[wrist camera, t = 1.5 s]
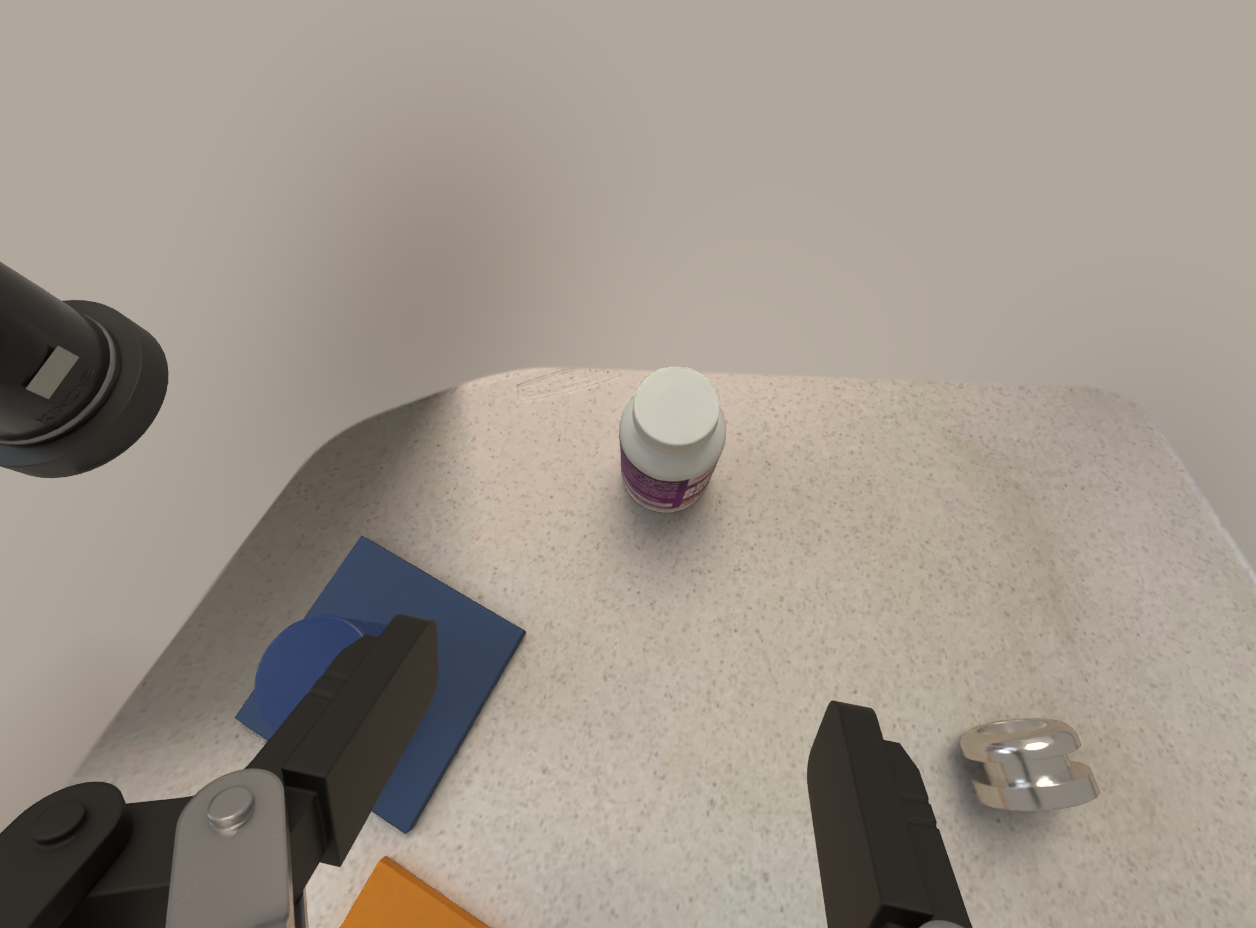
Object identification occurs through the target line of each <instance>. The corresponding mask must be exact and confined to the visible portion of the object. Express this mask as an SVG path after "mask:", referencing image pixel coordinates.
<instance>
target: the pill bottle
mask: <svg viewBox="0 0 1256 928" xmlns="http://www.w3.org/2000/svg"><path fill="white" fill-rule="evenodd" d="M619 438H620V451H621V471H622V478H623V482H624V485H625V487H626V489H627V491H628V492H629V494H630V495H631V496H632V498H633V499H634V500H635V501H636V502H638V503H639V504H640V505H642V506H644V507H646V508H648V509H650V510H653V511H657V512H664V513H667V512H675V511H679V510H682V509H684V508H687V507H688V506H690V505H691V504H693V503H694V502H695V501H697V500H698V498H699V497H700V496H701V495H702V494H703V492H704V491H705V489H706V487H707V485H708V483H709V481H710V478H711V476H712V474H713V472H714V469H715V467H716V464H717V462H718V460H719V457H720V455H721V453H722V450H723V448H724V445H725V439H726V423H725V419H724V415H723V412H722V410H721V408H720V399H719V396H718V393H717V391H716V389H715V387H714V386H713V384H712V383H711V382H710V381H709V380H708V379H707V378H706V377H705V376H704V375H702V374H701V373H699V372H697V371H695V370H693V369H690V368H686V367H679V366H673V367H666V368H662V369H659V370H657V371H655V372H653V373H651V374H650V375H648V376H647V377H646V378H645V379H644V380H643V381H642V382H641V384H640V385H639V387H638V388H637V390H636V393H635V395H634V396H633V397H632V398H631V399H630V401H629V402H628V404H627V405H626V407H625V409H624V411H623V414H622V417H621V421H620V428H619Z"/></svg>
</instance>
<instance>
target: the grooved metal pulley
mask: <svg viewBox="0 0 1256 928" xmlns="http://www.w3.org/2000/svg"><path fill="white" fill-rule="evenodd" d="M960 747H961V750H962V753H963V756H964V757H965V758H967V759H970V760H974V761H980V762H982V764H983V767H984V768H982V769H980V770H977V771H976V772H974V773H973V774H972V775H971V780H972V783H973V786H974V789H975V792H976V795H977V798H978V800H979V801H980V802H981V803H983V804H985V805H987V806H990V807H994V808H999V809H1005V810H1016V811H1042V810H1055V809H1062V808H1068V807H1073V806H1078V805H1081V804H1085V803H1087V802H1090V801H1092V800H1094V799H1096V798H1097V797H1098V796H1099V794H1100V790H1099V787H1098V785H1097V782H1096V780H1095V777H1094V775H1093V772H1092V770H1091V768H1090V767H1089V766H1088V765H1086V764H1083V763H1080V762H1075V761H1069V758H1068V756H1067V754H1068V753H1071V752H1074V751H1076V750H1078V749H1079V748H1080V747H1081V742H1080V739H1079V737H1078V735H1077V733H1076V732H1075V730H1074V729H1073V728H1072V727H1070V726H1069V725H1068V724H1066V723H1064V722H1061V721H1058V720H1053V719H1043V718H1027V719H1013V720H1005V721H998V722H992V723H987V724H983V725H979V726H976V727H973V728H971V729H969V730H967V731H966V732H965V733H964V734H963V735H962V737H961V740H960Z"/></svg>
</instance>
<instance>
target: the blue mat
mask: <svg viewBox="0 0 1256 928" xmlns="http://www.w3.org/2000/svg"><path fill="white" fill-rule="evenodd" d="M397 614H404V615H409V616H414V617H419V618H425V619H430V620H434V621H435V622H436V624H437V636H438V667H439V676H438V683H437V688H436V691H435V694H434V697H433V700H432V702H431V704H430V706H429V708H428V710H427V712H426V714H425V715H424V717H423V719H422V721H421V723H420V724H419V726H418V728H417V730H416V732H415V733H414V735H413V737H412V739H411V741H410V742H409V744H408V746H407V748H406V750H405V751H404V753H403V755H402V757H401V759H400V760H399V762H398V764H397V766H396V768H395V769H394V771H393V773H392V775H391V777H390V778H389V780H388V782H387V784H386V786H385V787H384V789H383V791H382V793H381V795H380V796H379V798H378V800H377V802H376V804H375V805H374V807H373V809H372V811H373V812H374V813H375V814H377V815H378V816H380V817H381V818H383V819H384V820H386V821H387V822H389V823H390V824H392V825H393V826H395V827H396V828H398V829H399V830H401V831H402V832H403V833H405V834H406V833H408V832H409V831H410V830H412V828H413V826H414V825H415V823H416V821H417V819H418V818H419V816H420V814H421V813H422V811H423V809H424V807H425V806H426V804H427V802H428V800H429V799H430V797H431V795H432V794H433V792H434V790H435V788H436V787H437V785H438V783H439V781H440V780H441V778H442V776H443V774H444V773H445V771H446V769H447V768H448V766H449V764H450V762H451V761H452V759H453V757H454V755H455V754H456V752H457V750H458V749H459V747H460V745H461V743H462V742H463V740H464V738H465V736H466V735H467V733H468V731H469V730H470V728H471V726H472V724H473V723H474V721H475V719H476V717H477V716H478V714H479V712H480V711H481V709H482V707H483V705H484V704H485V702H486V700H487V698H488V697H489V695H490V693H491V692H492V690H493V688H494V686H495V685H496V683H497V681H498V679H499V678H500V676H501V674H502V673H503V671H504V669H505V667H506V666H507V664H508V662H509V660H510V659H511V657H512V655H513V653H514V652H515V650H516V648H517V647H518V645H519V643H520V641H521V640H522V638H523V636H524V634H525V633H526V631H525V630H523V629H521V628H519V627H518V626H516V625H514V624H513V623H511V622H509V621H507V620H506V619H504V618H502V617H501V616H499V615H497V614H496V613H494V612H492V611H490V610H489V609H487V608H485V607H484V606H482V605H480V604H478V603H477V602H475V601H473V600H472V599H470V598H468V597H466V596H465V595H463V594H461V593H460V592H458V591H456V590H455V589H453V588H451V587H449V586H448V585H446V584H444V583H443V582H441V581H439V580H437V579H436V578H434V577H432V576H431V575H429V574H427V573H426V572H424V571H422V570H420V569H419V568H417V567H415V566H414V565H412V564H410V563H408V562H407V561H405V560H403V559H402V558H400V557H398V556H397V555H395V554H393V553H391V552H390V551H388V550H386V549H385V548H383V547H381V546H379V545H378V544H376V543H374V542H373V541H371V540H369V539H367V538H365V537H363V536H361V537H360V539H359V540H358V541H357V543H356V544H355V546H354V547H353V549H352V550H351V551H350V553H349V554H348V556H347V557H346V559H345V560H344V562H343V563H342V564H341V566H340V567H339V569H338V570H337V572H336V573H335V574H334V576H333V577H332V579H331V580H330V582H329V583H328V584H327V586H326V587H325V589H324V590H323V592H322V593H321V594H320V596H319V597H318V599H317V600H316V602H315V603H314V605H313V606H312V607H311V609H310V610H309V612H308V613H307V615H306V616H305V617H304V619H306V618H309V617H313V616H320V615H330V616H337V617H343V618H350V619H356V620H363V621H369V622H375V623H382V624H389V623H390V621H391V620H392V619H393V618H394V617H395V616H396V615H397ZM235 719H237V720H238V721H240V722H241V723H243V724H244V725H246V726H247V727H249V728H250V729H252V730H253V731H255V732H256V733H258V734H259V735H261V736H262V737H263V738H265V739H266V740H268V741H269V739H270V738H271V737H272V736H273V734H274V733H275V731H274V730H272V729H271V728H270V727H269V726H268V725H267V724H266V723H265V721H264V719H263V718H262V716H261V714H260V712H259V710H258V707H257V704H256V699H255V689H254V691H253V692H252V693H251V695H250V696H249V698H248V699H247V701H246V702H245V703H244V705H243V706H242V708H241V709H240V711H239V712H238V713H237V715H236V716H235Z"/></svg>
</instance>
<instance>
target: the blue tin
mask: <svg viewBox="0 0 1256 928" xmlns="http://www.w3.org/2000/svg"><path fill="white" fill-rule="evenodd" d="M387 625H388V624H382V623H375V622H369V621H363V620H356V619H350V618H343V617H337V616H330V615H320V616H313V617H309V618H306V619H303V620H300V621H298V622H296V623H294V624H293V625H291V626H289V627H288V628H286V629H285V630H284V631H283V632H282V633H280V634H279V635H278V636H277V637H276V638H275V639H274V640H273V642H272V643H271V644H270V645H269V647H268V648H267V650H266V651H265V653H264V655H263V657H262V659H261V661H260V664H259V666H258V669H257V673H256V678H255V699H256V704H257V707H258V710H259V712H260V714H261V716H262V718H263V719H264V721H265V723H266V724H267V725H268V726H269V727H270V728H271V729H272V730H274V731H275V732H276V731H277V729H278V728H279V727H280V726H281V724H282V723H283V722H284V721H285V720H286V718H287V717H288V716H289V715H290V713H291V712H292V711H293V710H294V708H295V707H296V706H297V705H298V703H299V702H300V701H301V700H302V698H303V697H304V696H305V695H306V694H309V692H310V689H311V687H312V686H313V685H314V684H315V682H316V681H317V680H318V679H319V677H320V676H323V675H324V671H325V670H326V669H327V668H328V666H329V665H330V664H331V663H332V661H333V660H334V659H335V658H336V656H337V655H338V654H339V653H340V651H341V650H343V649H344V648H346V647H347V646H349V645H350V644H352V643H353V642H355V641H356V640H358V639H359V638H361V637H362V636H364V635H365V634H367V635H372V636H377V637H379V636H380V635H381V633H382V632H383V631H384V629H385V628H386V627H387Z"/></svg>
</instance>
